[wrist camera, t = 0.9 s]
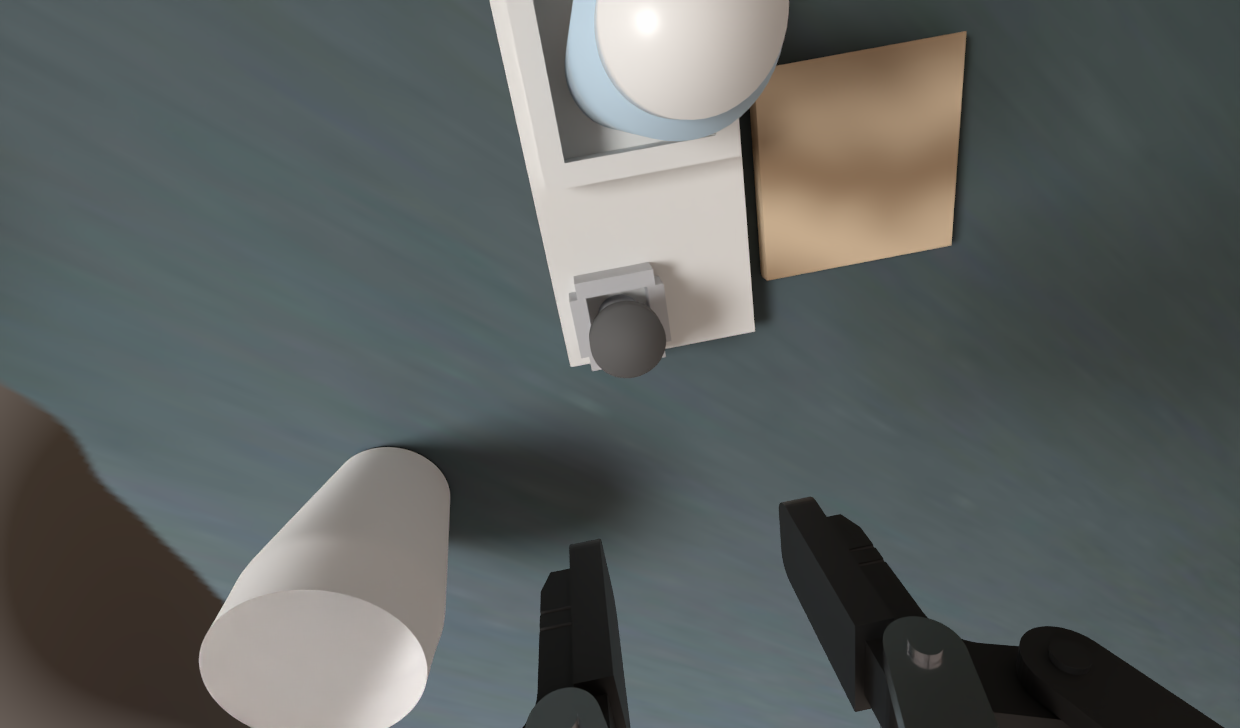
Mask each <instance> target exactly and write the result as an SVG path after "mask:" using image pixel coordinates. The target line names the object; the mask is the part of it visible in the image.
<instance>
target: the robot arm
mask: <svg viewBox="0 0 1240 728" xmlns="http://www.w3.org/2000/svg"><path fill="white" fill-rule="evenodd" d="M779 520H780V535H781V550H782V558H783V563H784V567H785V570H786V573H787V576H788V579H789V581H790V583H791V585H792V587H793V589H794V591H795V593H796V595H797V597H798V599H799V601H800V603H801V605H802V607H803V609H804V611H805V613H806V615H807V617H808V619H809V621H810V623H811V625H812V627H813V629H814V631H815V633H816V635H817V637H818V639H819V641H820V643H821V645H822V647H823V649H824V651H825V653H826V655H827V657H828V659H829V661H830V663H831V665H832V667H833V669H834V671H835V673H836V675H837V677H838V679H839V681H840V683H841V685H842V687H843V689H844V691H845V693H846V695H847V697H848V699H849V701H850V703H851V705H852V707H853V709H854V711H855V712H857V711H862V710H866V709H871V708H872V710H873V712H874V714H875V716H876V718H877V719H878V721H879V723H880V728H1224V727H1222V726H1221V725H1219V724H1218V723H1216V722H1215V721H1213V720H1212V719H1210V718H1209V717H1207V716H1206V715H1204V714H1203V713H1201V712H1200V711H1198V710H1197V709H1195V708H1194V707H1192V706H1191V705H1189V704H1188V703H1186V702H1185V701H1183V700H1182V699H1180V698H1179V697H1177V696H1176V695H1174V694H1173V693H1171V692H1170V691H1168V690H1167V689H1165V688H1164V687H1162V686H1161V685H1159V684H1158V683H1156V682H1155V681H1153V680H1152V679H1150V678H1149V677H1147V676H1146V675H1144V674H1143V673H1141V672H1140V671H1138V670H1137V669H1135V668H1134V667H1132V666H1131V665H1129V664H1128V663H1126V662H1125V661H1123V660H1122V659H1120V658H1119V657H1117V656H1116V655H1114V654H1113V653H1111V652H1110V651H1108V650H1107V649H1105V648H1104V647H1102V646H1101V645H1099V644H1098V643H1096V642H1095V641H1093V640H1091V639H1090V638H1088V637H1086V636H1084V635H1082V634H1080V633H1077V632H1074V631H1072V630H1068V629H1065V628H1060V627H1051V626H1044V627H1037V628H1033V629H1031V630H1029V631H1027V632H1026V633H1025V634H1024V635H1023V636H1022V638H1021V640H1020V644H1019V646H1008V645H996V644H984V643H976V642H971V641H966V640H963V639H961V638H960V637H959V636H958V635H957V634H956V633H955V632H954V631H952V630H951V629H950V628H948V627H947V626H945V625H943V624H942V623H939V622H937V621H935V620H932V619H929V618H927V617H926V615H925V614H924V613H923V612H922V610H921V609H920V608H919V606H918V605H917V603H916V602H915V601H914V599H913V598H912V597H911V595H910V594H909V593H908V591H907V590H906V589H905V587H904V586H903V584H902V583H901V582H900V580H899V579H898V578H897V576H896V575H895V574H894V572H893V571H892V570H891V568H890V567H889V566H888V564H887V563H886V562H884V560H883V557H882V556H881V555H880V553H879V552H878V551H877V549H876V548H874V547H873V544H872V542H871V541H870V540H869V538H868V537H867V536H866V534H865V533H864V532H863V530H862V529H861V528H860V527H859V526H858V525H856V524H855V523H853V522H852V521H850V520H849V519H847V518H846V517H844V516H842V515H841V514H839V515H834V516H829V517H826V515H825V514H824V512H823V511H822V509H821V508H820V506H819V505H818V503H817V502H816V501H815V499H814V498H813V497H807V498H802V499H797V500H792V501H787V502H782V503H780V504H779ZM569 554H570V569H566V570H561V571H556V572H551V573H550V575H549V577H548V579H547V581H546V583H545V585H544V587H543V589H542V591H541V605H540V613H541V616H540V635H539V666H538V694H537V701H536V705H535V707H534V708H533V709H532V711H531V713H530V715H529V717H528V719H527V722H526V724H525V725H524V727H523V728H630V720H629V712H628V704H627V696H626V687H625V679H624V671H623V662H622V654H621V646H620V637H619V629H618V621H617V613H616V606H615V600H614V595H613V590H612V585H611V581H610V576H609V572H608V568H607V563H606V559H605V555H604V550H603V546H602V542H601V539H596V540H591V541H586V542H581V543H576V544H571V545H570V547H569Z"/></svg>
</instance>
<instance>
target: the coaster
mask: <svg viewBox="0 0 1240 728" xmlns="http://www.w3.org/2000/svg"><path fill="white" fill-rule="evenodd" d="M965 46H966V31H964V32H959V33H953V34H948V35H942V36H937V37H931V38H926V39H920V40H915V41H910V42H904V43H899V44H893V45H888V46H882V47H877V48H871V49H866V50H860V51H855V52H849V53H844V54H838V55H833V56H827V57H822V58H816V59H811V60H805V61H800V62H794V63H789V64H783V65H778V66H776V67H775V70H774V72H773V74H772V76H771V78H770V80H769V82H768V84H767V85H766V87H765V88H764V90H763V92H762V93H761V95H760V96H759V97H758V99H757V100H756V101H755V102H754V103H753V105H752V106H751V107H750V119H751V133H752V148H753V163H754V178H755V193H756V208H757V223H758V237H759V252H760V267H761V276H762V277H763V278H765V279H766V280H767V281H768V280H773V279H778V278H783V277H788V276H794V275H799V274H804V273H809V272H815V271H820V270H825V269H830V268H835V267H841V266H846V265H851V264H856V263H861V262H867V261H872V260H877V259H882V258H888V257H893V256H898V255H903V254H908V253H914V252H919V251H924V250H929V249H934V248H940V247H945V246H950V245H951V244H952V229H953V215H954V201H955V187H956V173H957V159H958V145H959V130H960V116H961V102H962V88H963V74H964V60H965Z"/></svg>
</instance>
